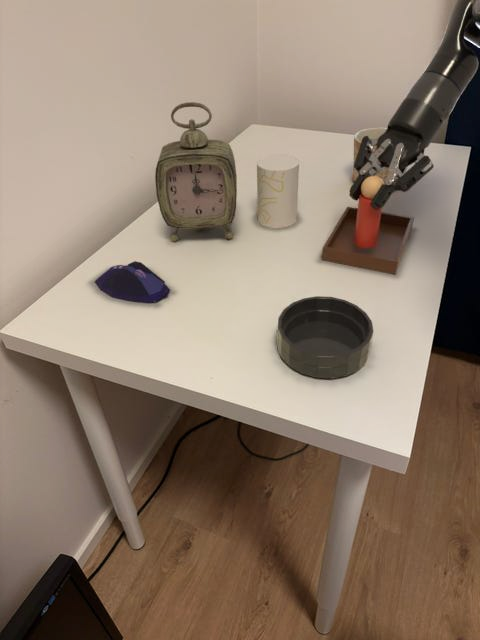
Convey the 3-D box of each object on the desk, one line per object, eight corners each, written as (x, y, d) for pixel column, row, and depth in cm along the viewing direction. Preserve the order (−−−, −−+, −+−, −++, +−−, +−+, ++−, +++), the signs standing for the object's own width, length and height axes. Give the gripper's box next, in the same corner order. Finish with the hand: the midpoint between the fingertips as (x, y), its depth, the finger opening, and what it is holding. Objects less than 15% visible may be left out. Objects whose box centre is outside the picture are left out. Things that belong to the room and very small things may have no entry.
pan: (348, 313, 76) (351, 290, 73) (384, 371, 66) (389, 347, 63) (268, 327, 74) (268, 303, 71) (292, 388, 64) (293, 364, 61)
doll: (370, 236, 89) (380, 170, 81) (380, 246, 86) (391, 180, 78) (350, 239, 88) (358, 173, 81) (358, 250, 85) (367, 183, 77)
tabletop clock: (164, 246, 94) (143, 111, 78) (169, 224, 101) (150, 96, 85) (239, 243, 94) (232, 108, 78) (238, 221, 101) (233, 92, 85)
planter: (339, 185, 113) (343, 139, 106) (365, 167, 120) (371, 124, 113) (389, 198, 106) (397, 151, 100) (414, 179, 113) (423, 134, 107)
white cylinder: (249, 217, 102) (248, 161, 94) (279, 206, 105) (279, 151, 98) (275, 232, 97) (275, 174, 89) (304, 219, 100) (307, 162, 93)
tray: (346, 218, 100) (347, 206, 98) (411, 229, 96) (414, 217, 94) (321, 260, 88) (322, 247, 87) (395, 274, 84) (397, 262, 82)
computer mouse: (122, 261, 90) (117, 242, 88) (186, 283, 84) (183, 264, 81) (85, 287, 84) (80, 267, 82) (151, 312, 78) (148, 292, 75)
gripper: (380, 88, 80) (322, 178, 82) (456, 106, 71) (388, 207, 73) (396, 115, 86) (341, 198, 88) (468, 134, 77) (405, 227, 79)
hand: (363, 202), depth 81 cm, fingers closed on doll, 4 cm apart
